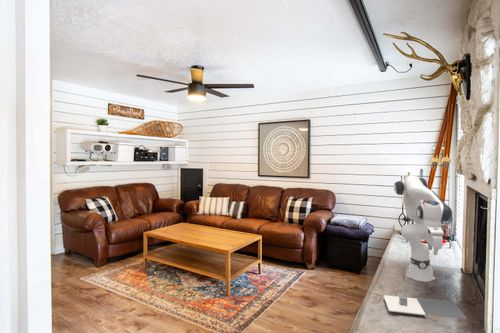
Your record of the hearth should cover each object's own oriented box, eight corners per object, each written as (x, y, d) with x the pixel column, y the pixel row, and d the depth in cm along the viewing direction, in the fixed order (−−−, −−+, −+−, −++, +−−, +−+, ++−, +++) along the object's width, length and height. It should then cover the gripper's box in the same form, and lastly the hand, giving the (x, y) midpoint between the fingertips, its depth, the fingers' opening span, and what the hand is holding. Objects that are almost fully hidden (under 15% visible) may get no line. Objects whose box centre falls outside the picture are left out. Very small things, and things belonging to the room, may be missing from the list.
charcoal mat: (415, 298, 178) (415, 297, 178) (453, 302, 172) (453, 301, 172) (424, 314, 159) (424, 314, 159) (467, 319, 153) (467, 319, 153)
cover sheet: (383, 296, 177) (383, 288, 177) (416, 299, 172) (416, 291, 172) (388, 311, 160) (388, 302, 160) (425, 315, 155) (425, 307, 155)
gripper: (421, 224, 180) (421, 246, 180) (431, 232, 161) (432, 257, 161) (433, 225, 178) (433, 247, 179) (444, 233, 159) (445, 258, 159)
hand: (432, 252), depth 170 cm, fingers open, 8 cm apart
